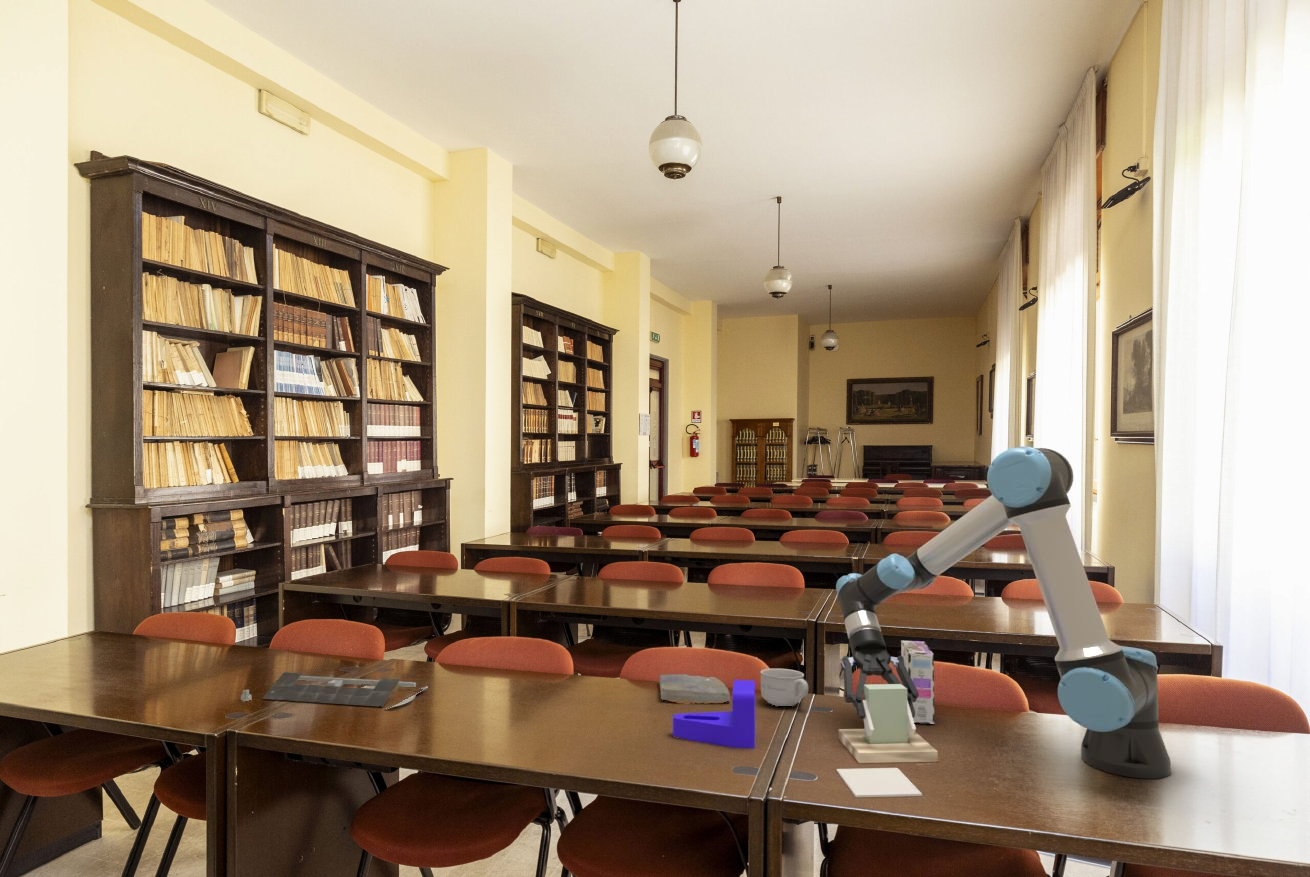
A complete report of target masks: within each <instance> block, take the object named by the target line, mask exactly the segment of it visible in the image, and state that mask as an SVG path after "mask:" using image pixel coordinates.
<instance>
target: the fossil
mask: <svg viewBox="0 0 1310 877" xmlns="http://www.w3.org/2000/svg"><path fill="white" fill-rule="evenodd" d="M659 689H660V690H659V691H661V692H660V700H661V699H666V700H678V701H694V702H720V701H730V700H731V694H730V690H729V689H728V687H727V686H726V684H725V683H724V682H723V681H721V679H719V678H718V677H714V676H710V677H706V676H701V675H689V674H686V673H685V674H684V673H683V674H681V673H680V674H679V673H678V674H677V673H676V674H674V673H673V674H672V673H671V674H659ZM730 702H731V701H730Z"/></svg>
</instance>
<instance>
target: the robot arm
mask: <svg viewBox="0 0 1310 877" xmlns="http://www.w3.org/2000/svg"><path fill="white" fill-rule="evenodd" d="M990 463H991V464H990V465H989V467H988V471H987V475H986V477H987V478H986V480H987V486H988V489H989V492H990V493H991V495H990V496H988V497H987V498H986V499H985V500H983V501H982V502H980V503H979V504H978V505H976V506H975V507H974V508H972V509H971V510H969V511H968V512H967V513H965V514H964V515H962V516H961V517H960V518H958V519H957V520H955V521H954V522H953V523H952V524H950V525H949V526H948V527H946V528H945V529H943V530H942V531H940V532H939V533H938V534H937V535H935V536H934V537H933V538H931V539H930V540H929V541H927V542H926V543H924V544H923V545H922V546H921V547H919V548H918V549H917V550H915V551H914V552H913V553H911V554H909V555H908V556H907V557H905V556H903V555H900V554H898V553H892V554H889V555H888V556H886V557H885V558H882V559H881V560H880V561H879V562H878V563H877V564H876V565H874V566H873V567H871V568H870V569H869V570H868V571H866V572H864V574H860V573H856V572H855V573H854V572H853V573H849V574H847V575H842V576H841V577H840V578H839V579H837V581H836V585H835V589H836V594H837V601H838V603H839V607H840V612H841V613H842V616H843V622H844V625H845V626H844V627H845V630H846V633H847V639H848V642H849V643H848V644H849V646H850V650H851V654H852V656H851V657H848V656H846V655H844V656H842V659H841V661H840V667H841V669H842V671H843V684H844V685H843V686H844V701H845V703H846V704H853V706H854V708H855V709H856V712H857V713H856V714H857V717H858V719H859V720H863V724H865V728H866V732H867V736H871V735H872V733H873V731H874V728H873V724H872V720H871V716H870V713H869V709H868V705H867V701H866V700H864V699H863V698H864V685H866V682H867V678H868V676H869V677H871V676H879V677H881V678H882V679H883V680H884V681H886V682H887V683H886V684H903V686H904V687H906V688H907V708H908V733H909V735H913V734H914V732H916V730H917V727H916V724H914V720H913V718H914V716H915V710H914V706H913V703H912V702H916V700H917V698H918V696H919V693H918V691H917V689H916V687H915V685H914V683H913V681H912V679H911V677H910V675H909V673H908V671H907V669H906V667H905V665H904V658H903V656H901V655H898V656H897V657H895V656H891V654H889V652H888V650H887V646H886V642H885V639H884V636H883V633H882V628H881V626H880V623H879V619H878V616H877V612H876V607H877V606H880V605H881V604H882V603H884V602H886V600H888V599H889V598H891V597H893V596H894V595H897V594H898V595H899V594H901V593H905V592H906V593H907V592H910V591H915V590H922V589H925V588H926V587H929V586H930V585H932V584H933V583H934V581H935V580H936V578H937V577H938V576H940V575H941V574H942V573H944V572H946V571H947V570H948V569H949V568H951V567H953V566H954V565H955V564H957V563H958V562H960V561H961V560H963V559H964V558H966V557H967V556H969V555H971V553H973V552H974V551H976V550H978V549H979V548H981V547H982V546H983V545H984V544H987V542H989V541H990V540H992V539H993V538H994V537H996V536H998V535H999V534H1000V533H1002V532H1004V531H1005V530H1006V529H1007V528H1010V527H1011V526H1012V525H1015V526H1017V527H1018V528H1019V530H1020V533H1021V537H1022V539H1023V543H1024V545H1025V548H1026V551H1027V555H1028V557H1029V560H1030V562H1031V566H1032V569H1033V572H1034V575H1035V578H1036V581H1037V584H1038V587H1039V590H1040V594H1041V596H1042V598H1043V602H1044V605H1045V607H1046V611H1047V613H1048V616H1049V620H1050V622H1051V626H1052V629H1053V631H1054V634H1055V638H1056V641H1057V642H1058V646H1059V649H1058V651H1057V654H1056V655H1055V657H1054V662H1055V664H1056V668H1057V671H1058V673H1059V676H1060V680H1059V683H1058V687H1057V697H1058V701H1059V704H1060V706H1061V708H1062V710H1063V711H1064V713H1065V714H1066V715H1067V716H1068V718H1070V719H1071V720H1072V721H1073V722H1074V723H1076V724H1078V725H1079V726H1080V727H1082V728H1084V729H1086V731H1085V734H1084V736H1083V738H1082V741H1081V745H1080V746H1081V747H1080V756H1081V757H1080V758H1081V759H1082V760H1083V762H1085V763H1086V764H1087V765H1088V766H1090V767H1092V768H1095V769H1097V770H1100V771H1103V772H1107V773H1110V774H1112V775H1113V774H1114V775H1117V776H1118V775H1119V776H1122V777H1128V778H1133V779H1135V778H1136V779H1161V778H1166V777H1168V776H1170V775H1171V774H1172V773H1171V772H1172V767H1171V766H1172V763H1171V758H1170V755H1169V753H1168V750H1167V748H1166V745H1165V742H1164V740H1163V737H1162V734H1161V731H1160V726H1159V725H1160V724H1159V723H1160V722H1159V694H1158V692H1159V691H1158V690H1159V689H1158V687H1159V686H1158V670H1159V666H1158V665H1157V664H1158V663H1157V657H1156V655H1155V654H1154V653H1153V651H1150V650H1148V649H1142V648H1137V647H1131V646H1130V647H1129V646H1123V645H1119V644H1117V643H1115V642H1113V641H1112V640H1111V639H1110V638H1109V635H1108V632H1107V629H1106V626H1105V623H1104V620H1103V619H1102V616H1101V613H1100V608H1099V607H1098V604H1097V602H1096V599H1095V595H1094V593H1093V590H1092V587H1091V585H1090V580H1089V579H1088V575H1087V573H1086V570H1085V567H1084V565H1083V562H1082V561H1083V560H1082V559H1081V556H1080V553H1079V551H1078V547H1077V544H1076V542H1075V538H1074V536H1073V533H1072V531H1071V528H1070V525H1069V522H1068V519H1067V513H1068V511H1069V510H1070V508H1071V507H1072V506H1071V502H1070V499H1069V497H1068V493H1069V491H1070V490H1071V489H1072V486H1073V483H1074V470H1073V467H1072V466H1071V463H1070V462H1069V460H1068V459H1067V458H1066V457H1065V456H1064V455H1063V454H1061V453H1059V452H1057V451H1056V450H1053V449H1051V448H1045V447H1040V448H1039V447H1038V448H1037V447H1036V448H1035V447H1031V446H1023V445H1022V446H1019V447H1013V448H1009V449H1006V450H1004V451H1002V452H1000V453H999V454H998V455H997V456H996V457H995V458H994V459H993V460H992V462H990ZM890 664H892V665H893V666H892V667H893V668H894V669H895V670H896V673H897V675H898V677H897V676H896V674H895V673H894V672H893V669H892V668H891V666H890ZM853 665H855V667H856V668H858V669H859V670H860V673H859V677H858V683H857V687H856V691H855V694H854V691H853V690H854V688H853V687H854V686H853V685H854V684H853V670H852V669H853ZM898 678H899V679H898Z"/></svg>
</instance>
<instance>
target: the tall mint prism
mask: <svg viewBox="0 0 1310 877" xmlns="http://www.w3.org/2000/svg"><path fill="white" fill-rule="evenodd" d="M863 700H866V701H867V705H868V709H869V713H870V716H871V720H872V724H873V728H874V731H873V733H872V735H871V736H867V732H866V728H865V724H864V723H863V724H864V726H863V727H864V728H863V729H864V734H865V740H866V741H867V743H868V744H892V743H908V708H907V688H906V687H904V686H903V685H902V683H901V684H888V683H883V684H880V683H879V684H875V683H874V684H872V683H871V684H865V685H864V692H863Z"/></svg>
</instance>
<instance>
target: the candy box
mask: <svg viewBox="0 0 1310 877" xmlns="http://www.w3.org/2000/svg"><path fill="white" fill-rule="evenodd" d="M900 643H901V644H900V648H901V651H900V653H901V655H900V656H903V658H904V665H905V667H906V669H907V671H908V673H909V675H910V677H911V679H912V681H913V683H914V685H915V687H916V689H917V691H918V693H919V696H918V698H917V700H916V702H912V703H913V706H914V710H915V716H914V718H913V720H914V723H920V724H919V725H926V724H935V721H936V720H935V692H934V691H935V674H934V672H935V670H934V669H935V667H934V664H935V663H934V659H935V658H934V655H935V654H934V653H933V652H932V650H931V649H930V647H928V645H927V643H926V641H920V640H900ZM901 684H902V683H901ZM902 685H903V684H902Z"/></svg>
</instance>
